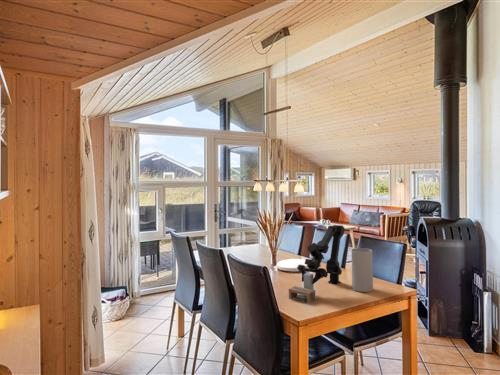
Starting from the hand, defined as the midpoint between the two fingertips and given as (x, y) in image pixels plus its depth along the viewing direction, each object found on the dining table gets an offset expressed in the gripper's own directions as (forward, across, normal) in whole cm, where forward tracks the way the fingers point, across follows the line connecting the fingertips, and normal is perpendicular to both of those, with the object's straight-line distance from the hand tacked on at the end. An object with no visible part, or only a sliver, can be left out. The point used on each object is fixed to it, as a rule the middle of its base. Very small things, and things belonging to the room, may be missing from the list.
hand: (307, 282), depth 203 cm
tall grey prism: (+7, 0, +4) cm, 8 cm away
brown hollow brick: (+10, 0, +2) cm, 10 cm away
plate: (-30, -44, +42) cm, 67 cm away
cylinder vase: (-16, +21, +28) cm, 39 cm away
